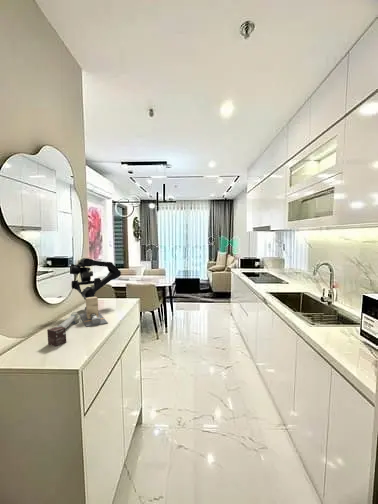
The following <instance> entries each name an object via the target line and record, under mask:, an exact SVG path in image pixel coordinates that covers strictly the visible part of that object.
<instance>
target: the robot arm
mask: <svg viewBox="0 0 378 504" xmlns="http://www.w3.org/2000/svg"><path fill="white" fill-rule="evenodd" d="M70 265H71V266H70ZM70 265H69V267H70V274H69V275H75V276H77V275H79V276H80V280H81V281H79V280H78V279H77V280H71V284H70V285H71V289H72V290H76V291H78V293H79V294H80V295H81V297H82V298H83V299H84V300H85V301H86V298H89V297H97V296H95V295H96V293H97V292H98V291H99V290H100V289H101V288H102V287H104V286H105V285H107V284H108V283H110V282H111V281H112V280H116V279H118V278H120V276H121V275H122V272H121V269H118V268H117V266H116V265H115V264H114V263H113V262H112V261H101V260H95V259H92V258H87V257H83V258H82V259H80V261H79V262H78V263H77V264H73V263H71V264H70ZM94 266H95V267H104V268H105V267H106V268H107V270H108V273H107V275H106V276H104V277H103V278H102V279H101V278H100V277H95V278H93V280H91V277H93V276H94V271H93V270H91V268H90V267H94ZM83 285H84V286H85V285H92V286H86V287H85V288H83V289H81V286H83ZM84 308H85V309H86V306H85V307H84Z"/></svg>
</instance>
